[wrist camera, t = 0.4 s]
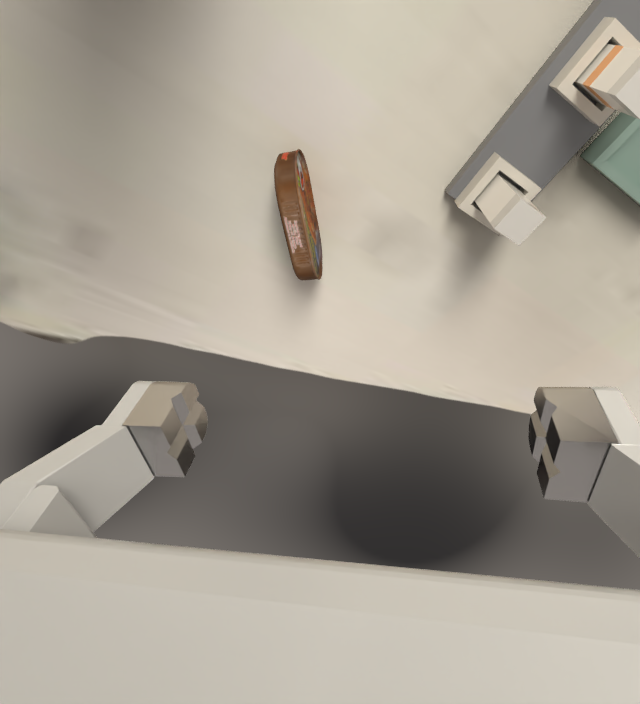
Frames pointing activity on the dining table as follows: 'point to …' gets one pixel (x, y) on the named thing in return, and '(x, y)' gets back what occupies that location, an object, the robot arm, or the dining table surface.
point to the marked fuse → (614, 79)
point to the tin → (298, 214)
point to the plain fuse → (509, 209)
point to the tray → (618, 154)
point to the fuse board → (548, 112)
